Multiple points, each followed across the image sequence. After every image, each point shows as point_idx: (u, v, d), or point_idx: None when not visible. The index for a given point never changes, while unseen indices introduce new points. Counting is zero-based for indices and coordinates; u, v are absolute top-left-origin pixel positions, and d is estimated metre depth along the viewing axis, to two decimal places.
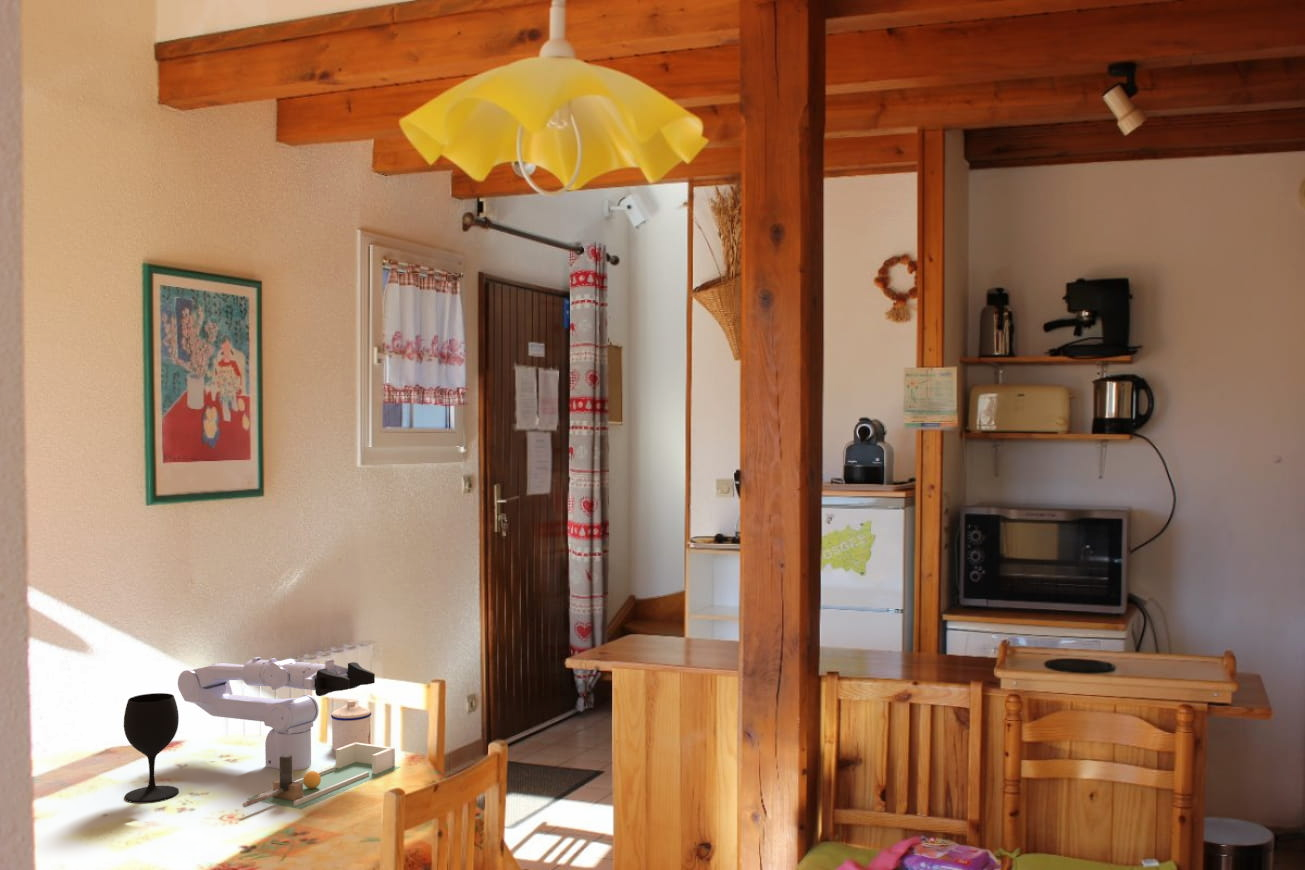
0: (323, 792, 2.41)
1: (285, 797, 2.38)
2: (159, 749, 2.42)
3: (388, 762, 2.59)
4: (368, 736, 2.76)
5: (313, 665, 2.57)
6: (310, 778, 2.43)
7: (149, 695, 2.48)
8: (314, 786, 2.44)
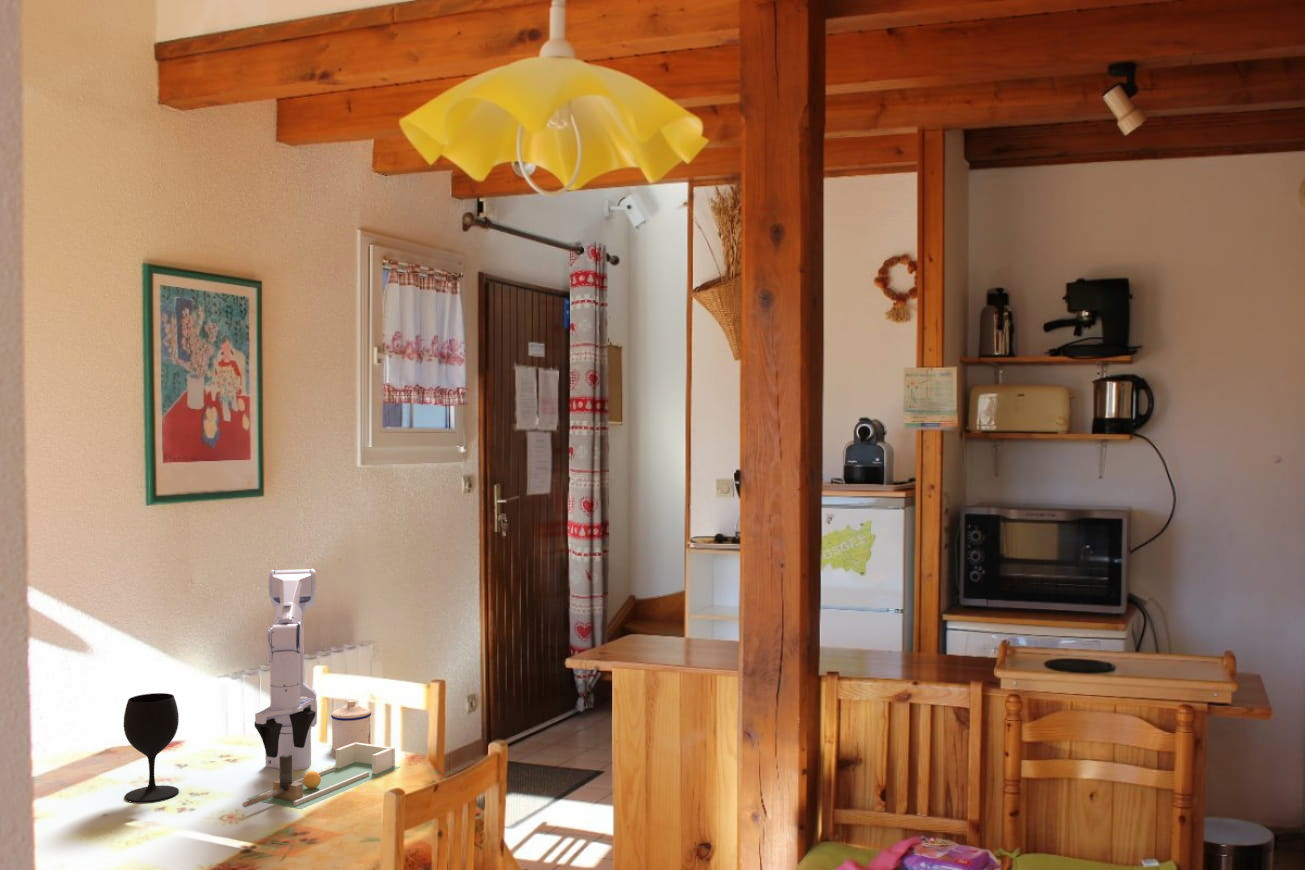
0: (323, 792, 2.41)
1: (285, 797, 2.38)
2: (159, 749, 2.42)
3: (388, 762, 2.59)
4: (368, 736, 2.76)
5: (291, 691, 2.36)
6: (310, 778, 2.43)
7: (148, 695, 2.48)
8: (314, 786, 2.44)
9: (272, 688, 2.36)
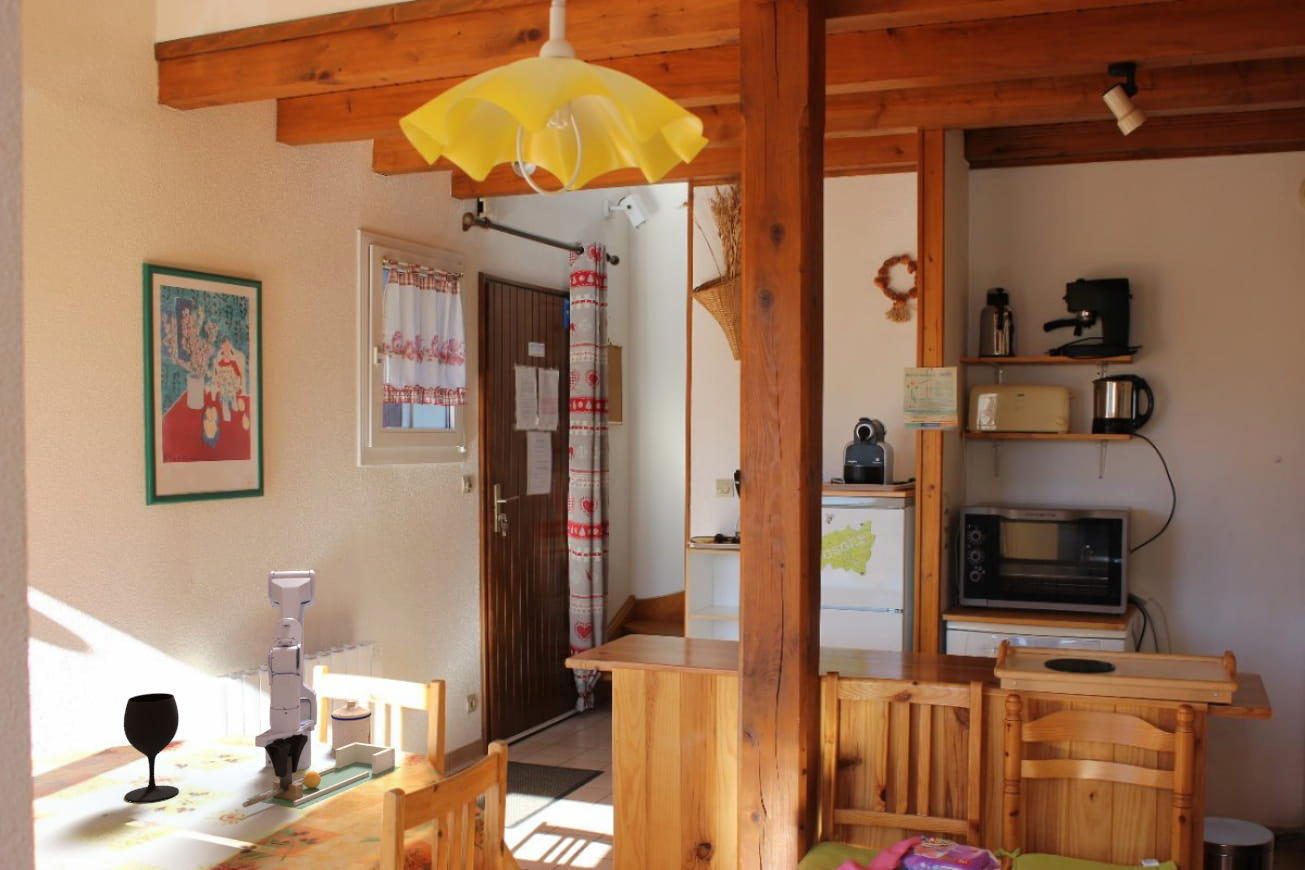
0: (323, 792, 2.41)
1: (285, 797, 2.38)
2: (159, 749, 2.42)
3: (388, 762, 2.59)
4: (368, 736, 2.76)
5: (291, 714, 2.36)
6: (310, 778, 2.43)
7: (149, 695, 2.48)
8: (314, 786, 2.44)
9: (272, 711, 2.36)
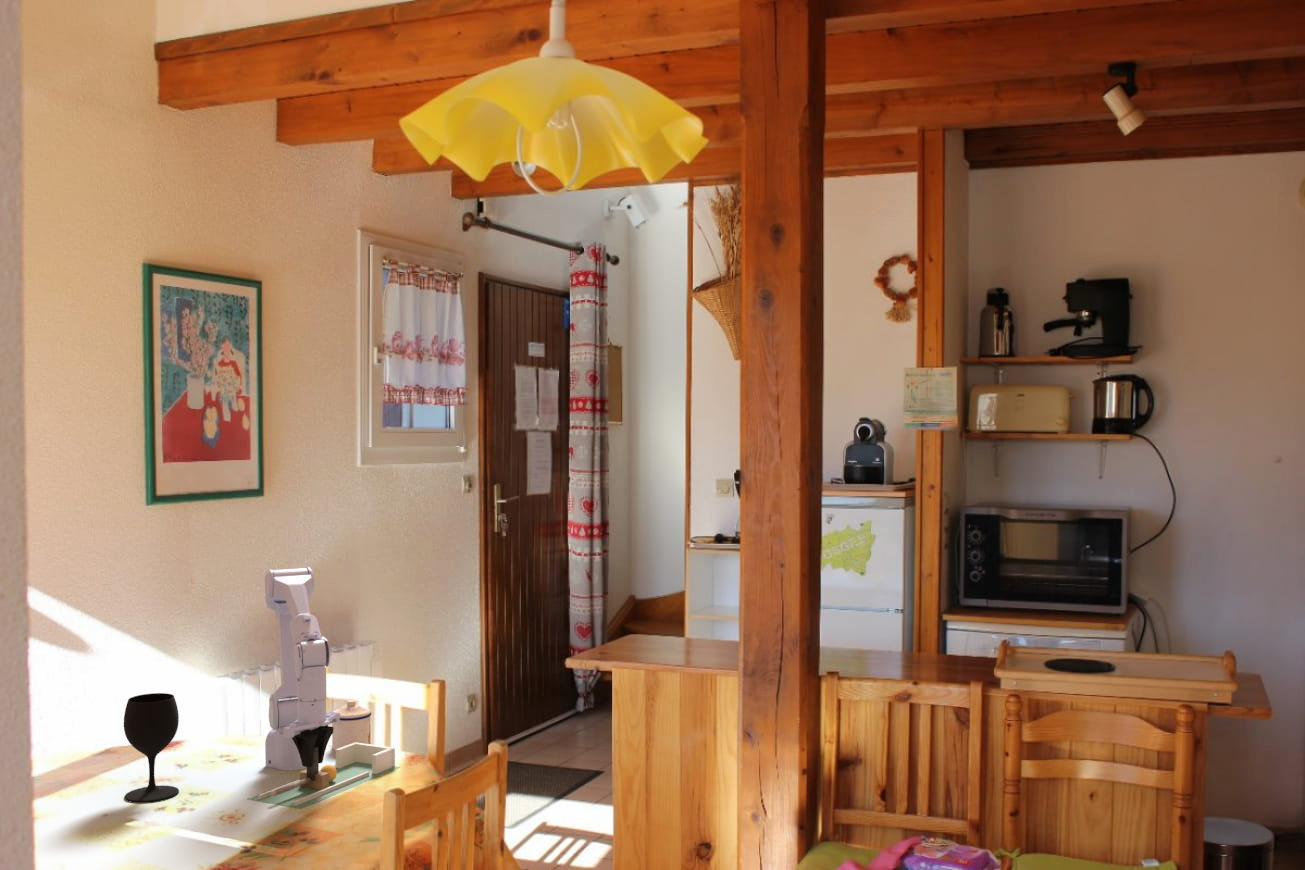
0: (323, 792, 2.41)
1: (312, 786, 2.45)
2: (159, 749, 2.42)
3: (388, 762, 2.59)
4: (368, 736, 2.76)
5: (318, 706, 2.43)
6: None
7: (149, 695, 2.48)
8: (333, 768, 2.49)
9: (299, 703, 2.43)
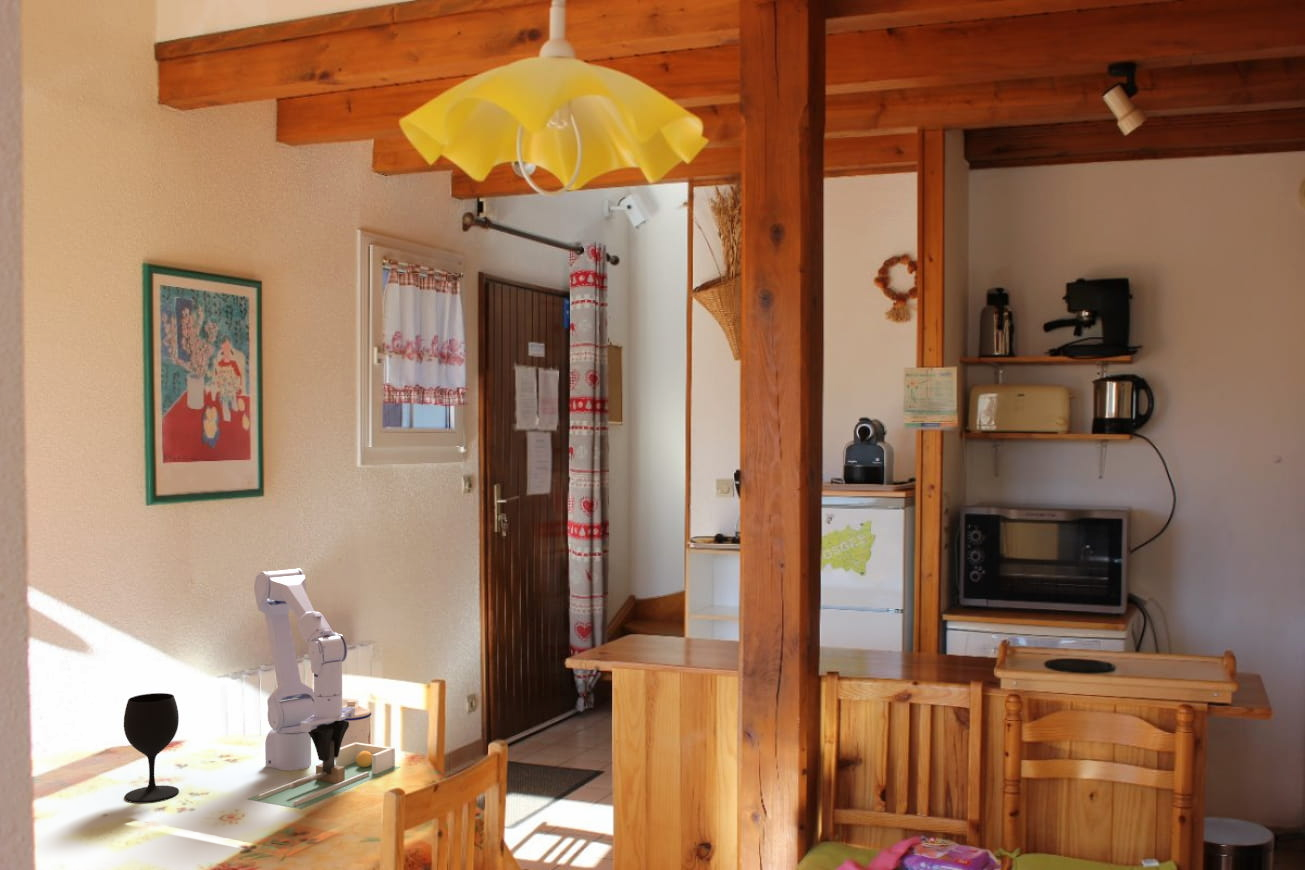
0: (323, 792, 2.41)
1: (328, 780, 2.49)
2: (159, 749, 2.42)
3: (388, 762, 2.59)
4: (368, 736, 2.76)
5: (334, 701, 2.47)
6: None
7: (149, 695, 2.48)
8: (371, 754, 2.60)
9: (316, 698, 2.47)
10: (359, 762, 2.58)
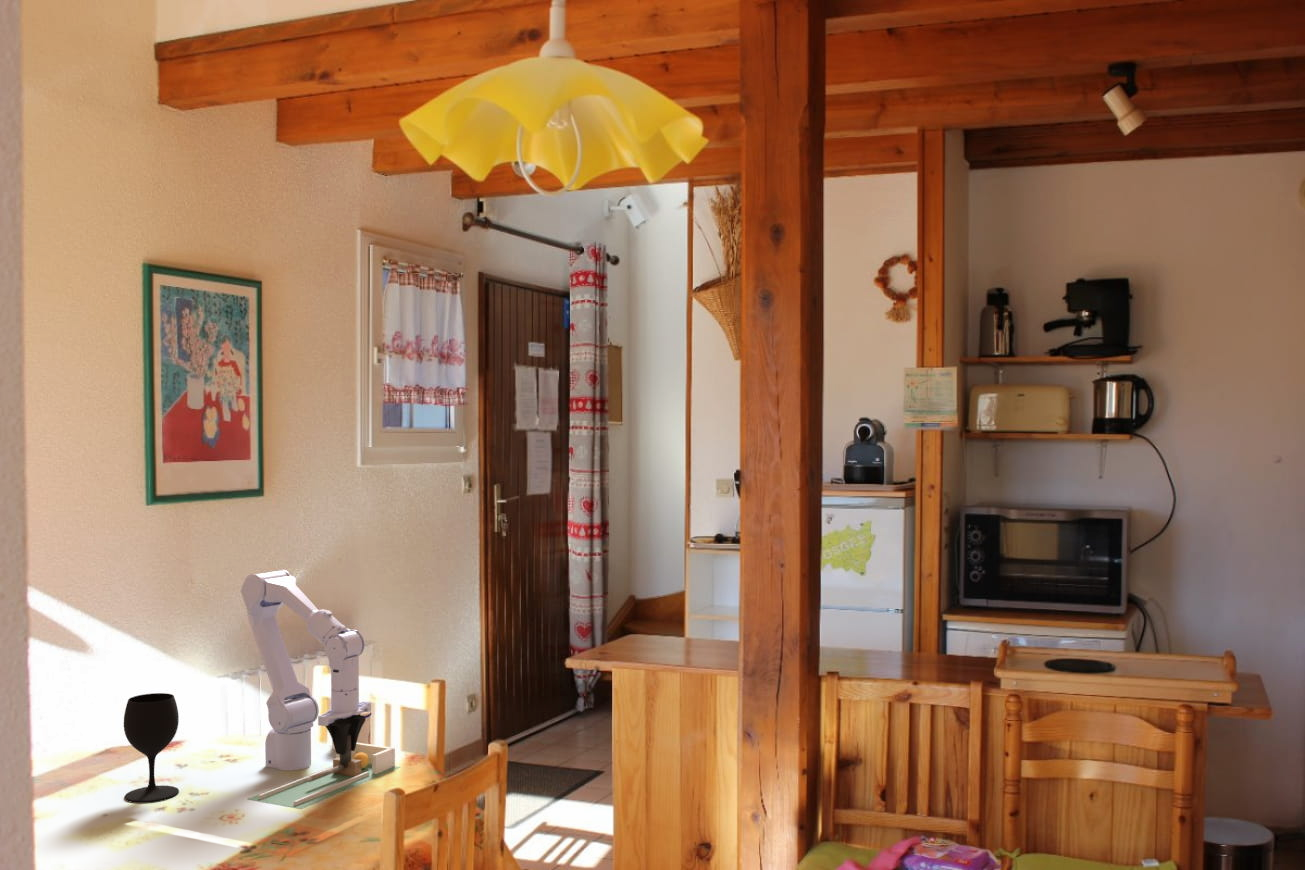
0: (323, 792, 2.41)
1: (345, 773, 2.54)
2: (159, 749, 2.42)
3: (388, 762, 2.59)
4: (368, 736, 2.76)
5: (351, 695, 2.52)
6: None
7: (148, 695, 2.48)
8: (364, 756, 2.58)
9: (333, 692, 2.52)
10: None
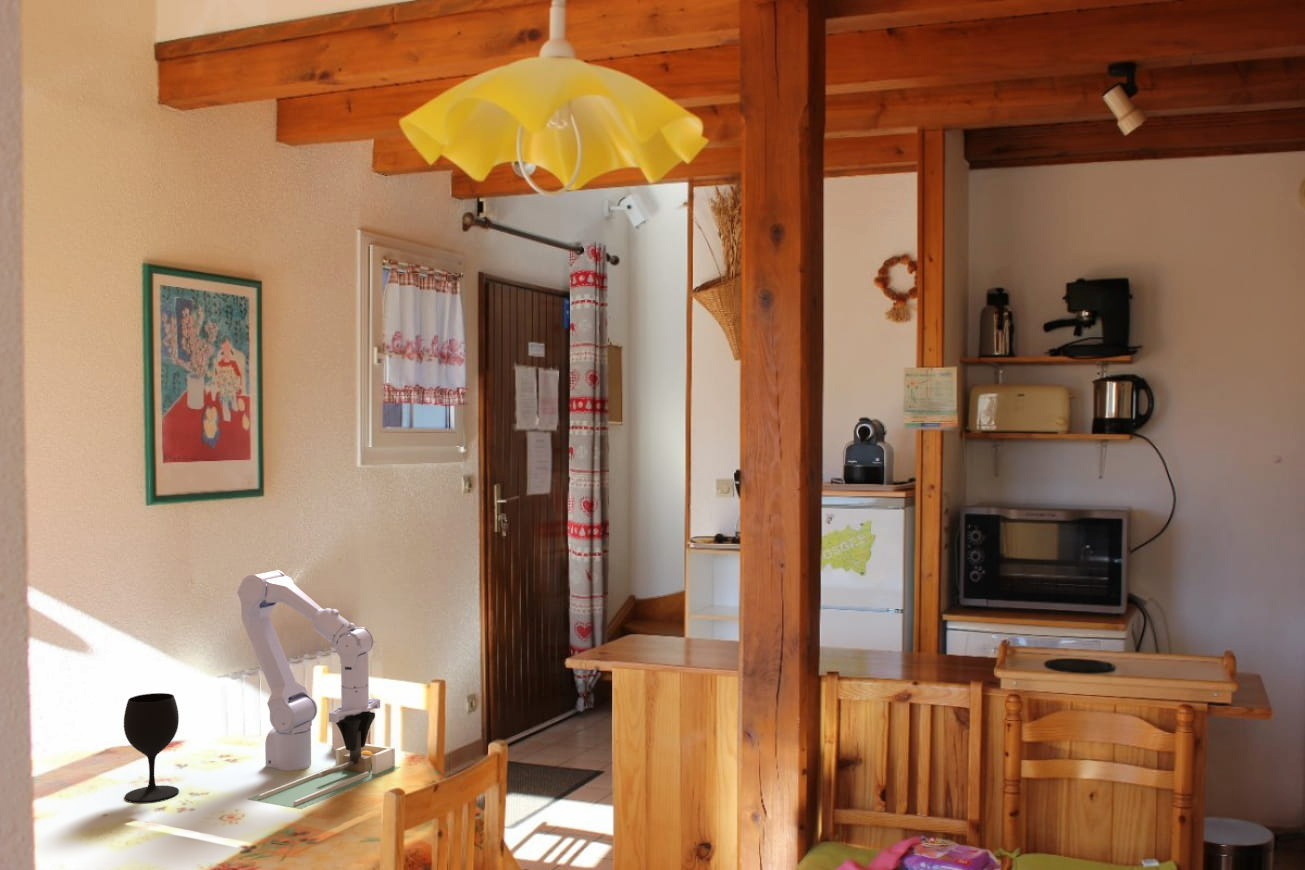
0: (323, 792, 2.41)
1: (355, 769, 2.57)
2: (159, 749, 2.42)
3: (388, 762, 2.59)
4: (368, 736, 2.76)
5: (361, 692, 2.55)
6: None
7: (149, 695, 2.48)
8: (372, 754, 2.60)
9: (343, 689, 2.55)
10: None
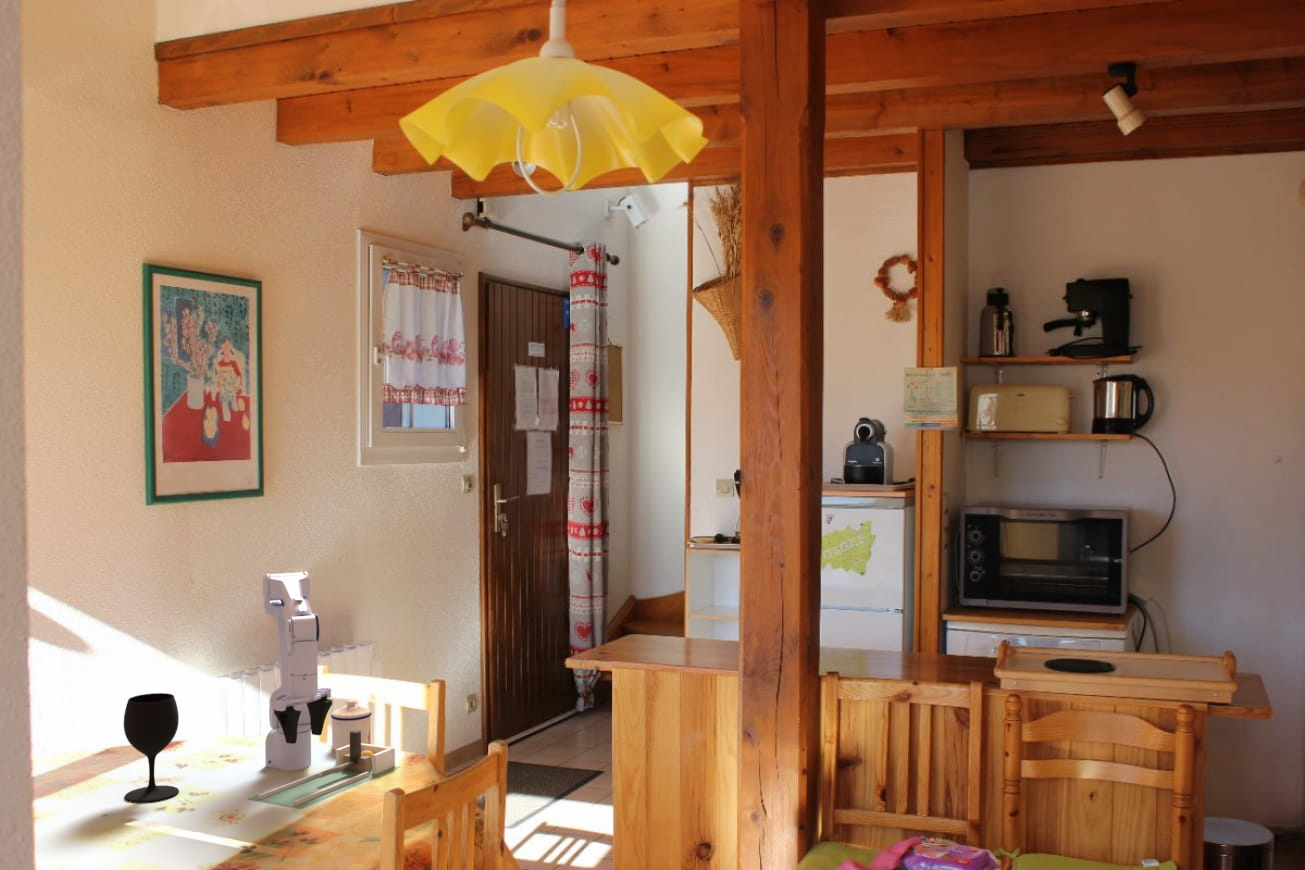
0: (323, 792, 2.41)
1: (355, 769, 2.57)
2: (159, 749, 2.42)
3: (388, 762, 2.59)
4: (368, 736, 2.76)
5: (309, 680, 2.46)
6: None
7: (148, 695, 2.48)
8: None
9: (291, 677, 2.46)
10: None
